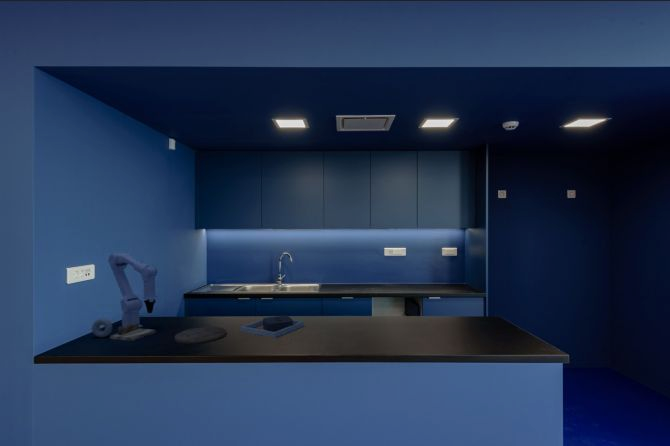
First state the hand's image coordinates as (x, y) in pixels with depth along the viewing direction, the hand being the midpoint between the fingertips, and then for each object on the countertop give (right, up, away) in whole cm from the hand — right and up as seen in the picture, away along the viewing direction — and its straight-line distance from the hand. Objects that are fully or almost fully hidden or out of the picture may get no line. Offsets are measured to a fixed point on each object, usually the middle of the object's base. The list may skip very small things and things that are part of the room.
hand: (149, 312), depth 209 cm
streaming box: (+72, -8, -4) cm, 73 cm away
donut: (-19, -10, -12) cm, 25 cm away
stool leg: (-7, -8, -9) cm, 14 cm away
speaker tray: (+69, -8, -4) cm, 70 cm away
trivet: (+34, -9, -15) cm, 38 cm away
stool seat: (-3, -9, -11) cm, 15 cm away
